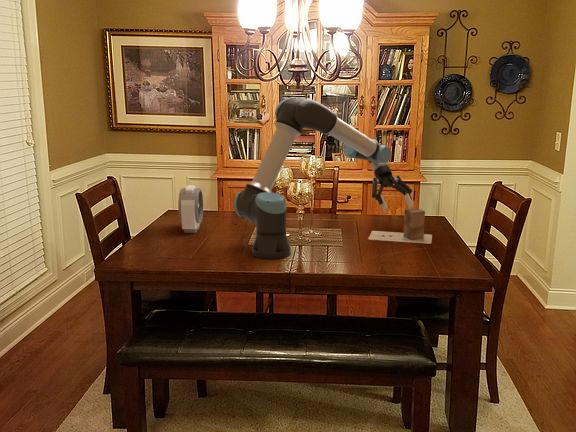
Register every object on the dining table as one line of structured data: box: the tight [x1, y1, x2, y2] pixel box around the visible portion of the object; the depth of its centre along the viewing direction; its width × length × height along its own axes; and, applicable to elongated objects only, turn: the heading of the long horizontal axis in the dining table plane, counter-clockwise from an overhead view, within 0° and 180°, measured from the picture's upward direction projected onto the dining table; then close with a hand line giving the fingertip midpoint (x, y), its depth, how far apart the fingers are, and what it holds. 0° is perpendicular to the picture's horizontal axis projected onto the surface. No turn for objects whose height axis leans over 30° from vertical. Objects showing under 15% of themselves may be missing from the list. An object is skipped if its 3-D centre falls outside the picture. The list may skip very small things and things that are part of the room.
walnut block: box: [403, 207, 426, 240], centre depth 247 cm, size 6×6×12 cm
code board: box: [367, 230, 433, 245], centre depth 250 cm, size 14×26×1 cm, turn 75°
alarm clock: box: [177, 184, 204, 234], centre depth 263 cm, size 18×8×20 cm, turn 179°
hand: (399, 208), depth 256 cm, fingers open, 13 cm apart
